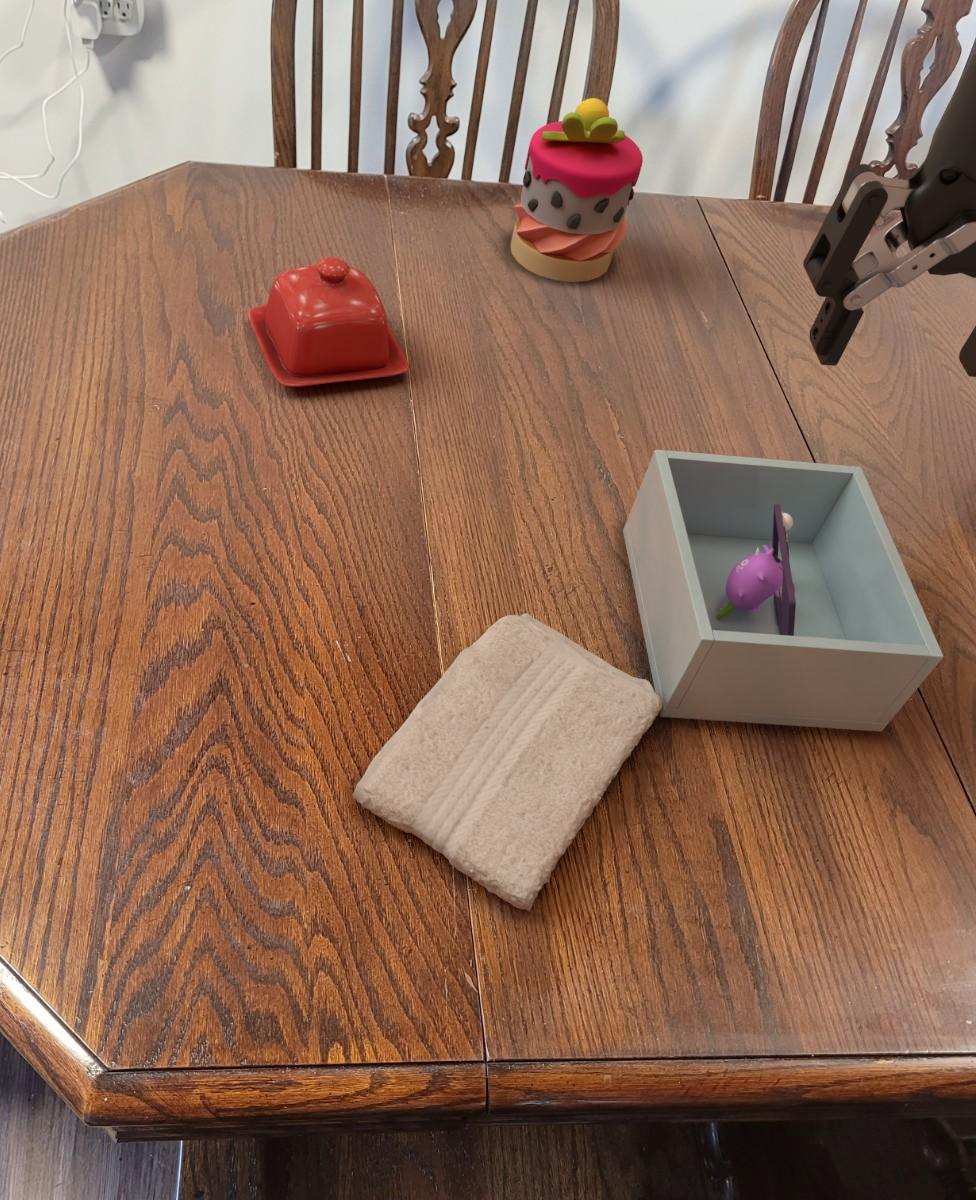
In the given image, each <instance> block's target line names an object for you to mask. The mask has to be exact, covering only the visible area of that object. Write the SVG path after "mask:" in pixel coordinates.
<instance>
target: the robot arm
mask: <svg viewBox="0 0 976 1200" xmlns="http://www.w3.org/2000/svg"><path fill="white" fill-rule="evenodd" d="M930 141H931V142H930V145H929V148H928V151H927V154H926V157H925V159H924V160H923V162H922V163H921V164H920V166H919V167H918V168H917V169H916V170H915V171H914V172H913V173H912V174H911V175H909V176H908V177H907V178H906V179H902V178H901V179H900V178H895V177H887V176H881V175H877V174H876V173H875V171H874V169H873V168H872V166H871V165H869V164H868V163H860V164H857V165H855V166H854V167H852V169H850V171H849V172H848V174H847V175H846V177H845V179H844V181H843V183H842V185H841V187H840V189H839V190H838V193H837V195H836V197H835V199H834V201H833V203H832V204H831V207H830V209H829V211H828V212H827V215H826V216H825V219H824V220H823V223H822V224H821V226H820V229H819V230H818V232H817V234H816V236H815V238H814V240H813V242H812V244H811V246H810V247H809V249H808V252H807V254H806V256H805V258H804V260H803V261H802V262H803V263H802V265H803V268H804V271H805V273H806V275H807V277H808V279H809V281H810V283H811V286H812V287H813V289H814V291H815V294H816V295H817V296H818V297H820V298H824V300H823V302H822V304H821V307H820V308H819V311H818V312H817V315H816V317H815V319H814V321H813V323H812V326H811V327H810V330H809V342H810V344H811V346H812V348H813V351H814V352H815V354H816V357H817V360H818V362H819V364H820V365H821V366H831V367H836V366H837V365H838V364H839V362H840V360H841V358H842V356H843V354H844V352H845V351H846V348H847V346H848V345H849V342H850V340H851V339H852V337H853V335H854V333H855V330H856V329H857V327H858V325H859V323H860V321H861V320H862V318H863V315H864V313H865V311H864V309H863V307H865V306H866V305H867V304H869V303H870V302H871V301H874V299H876V298H878V297H880V295H882V294H884V293H885V292H886V291H888V290H890V289H891V288H897V289H899V288H903V287H905V286H906V285H908V284H910V283H911V282H912V281H914V280H916V279H917V278H918V277H920V276H921V275H923V274H924V273H926V272H927V273H928V274H929V275H936V276H951V275H958V274H962V275H965V276H968V277H970V278H973V279H976V48H975V49H974V51H973V53H972V55H971V57H970V59H969V61H968V63H967V66H966V68H965V69H964V71H963V73H962V76H961V78H959V81H958V83H957V86H956V87H955V90H954V92H953V93H952V95H951V98H950V99H949V102H948V104H947V106H946V108H945V109H944V111H943V114H942V116H941V117H940V120H939V121H938V124H937V126H936V128H935V129H934V132H933V135H932V138H931V140H930ZM895 209H899V211H900V215H898V216H897V217H896V218H894V219H893V220H892V221H890V222H889V223H887V224H886V225H885V226H883V227H882V228H880V229H879V230H878V231H876V232H875V233H873V234H872V235H871V236H870V237H869V235H870V233H871V231H872V229H873V228H874V226H875V227H880V226H882V225H883V224H884V223H885V221H886V217H887V215H889V213H891V212H892V211H893V210H895ZM867 238H869V239H868V240H867ZM866 240H867V242H866V245H865V247H864V248H863V249H862V247H863V245H864V243H865V241H866ZM905 242H907V245H908V248H909V250H910V251H909V252H908V253H906V254H905V255H903V256H900V257H898V256H897V253H896V252H897V250H898V248H899V247H900V246H901V245H903V244H904V243H905ZM958 361H959V362H960V365H961V366H962V368H963V369H964V371H965V373H966V375H967V376H968V377H973V378H976V325H975V326H974V327H973V329H972V331H971V333H970V334H969V335H968V337H967V339H966V341H965V343H964V344H963V346H962V347H961V349H960V351H959V354H958Z"/></svg>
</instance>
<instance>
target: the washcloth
mask: <svg viewBox="0 0 976 1200" xmlns="http://www.w3.org/2000/svg"><path fill="white" fill-rule="evenodd" d="M662 703H663V702H662V699H661V698H660V697H659V695H657V694H656V693H655V689H654V686H653V685H652V684H651V683H650V681H649V680H647V679H646V678H640V677H639V678H638V677H634V676H632V675H630V674H628V673H627V672H625V671H623V670H621V669H619V668H616V667H615V666H613V665H612V664H610V663H609V662H607V661H606V660H605V659H603V658H601V657H600V656H597V655H596V654H594V653H593V652H591V651H590V650H587V649H586V648H584V647H583V646H582V645H580V644H579V643H576V642H575V641H574V640H571V639H570V638H569V637H567V636H566V635H564V634H563V633H561V632H559V631H558V630H556V629H554V628H552V627H550V626H548V624H545V623H543V622H541V621H539V620H538V619H537V618H535V617H533V616H532V615H531V614H529V613H525V612H524V613H522V614H520V615H517V614H507V615H505V616H502V617H501V618H499V619H497V620H496V621H495V622H494V623H493V624H492V625H490V626H488V628H487V629H486V631H485V632H483V634H482V635H481V636H480V637H479V638H478V639H477V640H475V641H474V642H473V643H472V644H471V645H470V646H469V647H465V648H463V649H462V650H461V651H460V652H459V654H458V655H457V657H456V658H455V659H454V661H453V662H452V663H451V664H450V666H449V667H448V668H447V669H446V671H445V672H444V673H443V675H442V676H441V677H440V678H439V680H438V681H437V682H436V683H435V684H434V685H433V687H432V688H431V689H430V690H429V691H428V692H427V693H426V694H425V695H424V697H423V698H422V699H421V700H419V702H418V703H417V704H416V705H415V706H414V709H413V710H412V711H411V712H410V714H409V715H408V717H407V718H406V719H405V721H404V722H403V724H402V725H401V726H400V727H399V729H397V731H395V733H394V734H393V735H392V736H391V737H390V738H389V739H388V740H387V741H386V742H385V744H384V745H383V746H382V747H381V748H380V750H379V752H378V753H376V755H375V756H374V757H373V759H372V760H371V762H370V763H369V764H368V767H367V769H366V770H365V772H364V774H363V776H362V777H361V779H360V780H359V781H358V782H357V784H356V786H355V789H354V791H353V793H352V799H354V800H355V801H357V802H358V803H359V804H360V805H361V806H362V807H363V808H364V809H367V810H368V811H370V812H371V813H372V814H374V815H375V816H377V817H378V818H379V819H382V820H384V822H386V823H387V824H388V825H391V826H392V827H395V828H397V829H398V830H400V831H402V832H405V833H406V834H407V833H408V834H409V833H410V834H411V835H413V836H415V837H417V838H418V839H420V840H422V842H423V843H424V844H426V845H427V846H429V847H431V848H432V850H434V851H436V852H437V853H439V854H441V855H443V857H444V858H446V859H447V860H448V863H449V864H450V866H452V868H455V869H456V870H458V872H460V873H462V874H464V875H465V876H467V877H470V879H471V880H472V881H473V882H476V883H477V884H478V885H480V887H481V886H482V887H484V888H485V889H486V890H487V892H489V893H492V894H494V895H495V896H497V897H498V898H499V899H502V900H503V901H504V902H507V903H509V904H510V905H512V906H513V907H515V908H517V909H519V910H522V911H523V910H527V912H530V911H531V909H532V907H533V905H534V902H535V899H536V898H537V897H538V895H539V892H540V891H541V890H542V889H543V887H544V886H545V884H547V883H550V878H551V875H552V872H553V871H554V870H555V869H556V866H557V863H558V861H559V860H560V858H561V857H562V856H564V854H565V853H566V851H567V848H569V846H571V844H572V842H573V840H574V839H576V836H577V834H578V833H579V831H581V829H582V828H583V826H584V825H585V823H586V820H587V819H589V817H590V816H591V815H592V814H593V812H594V808H595V807H597V806H598V804H599V803H600V800H601V799H602V797H603V796H604V794H605V792H606V791H607V788H608V787H609V786H610V784H612V780H613V779H615V778H616V777H617V774H618V772H619V771H620V770H621V767H622V765H623V764H624V762H625V761H626V760H627V759H628V758H629V757H630V756H631V755H632V751H634V749H635V747H636V746H638V745H639V742H640V741H641V739H642V737H643V735H645V733H647V732H648V730H649V728H650V727H651V726H652V725H653V723H654V720H656V718H657V716H659V711H660V710H661V708H662Z"/></svg>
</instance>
